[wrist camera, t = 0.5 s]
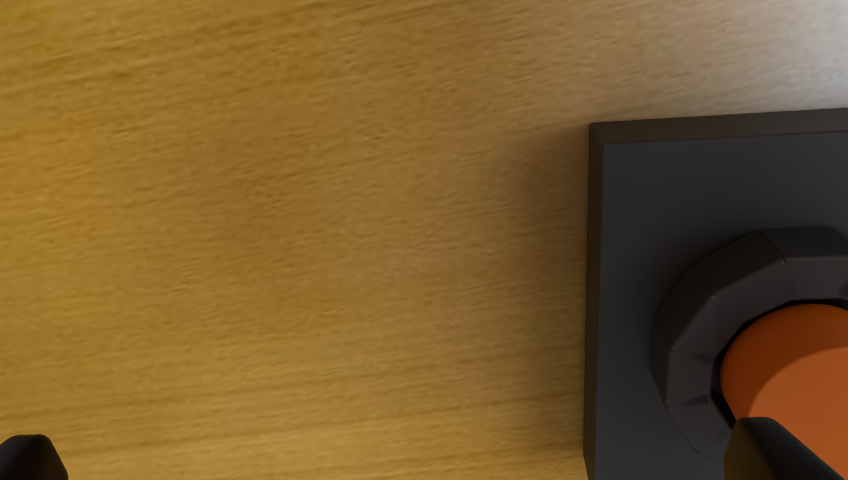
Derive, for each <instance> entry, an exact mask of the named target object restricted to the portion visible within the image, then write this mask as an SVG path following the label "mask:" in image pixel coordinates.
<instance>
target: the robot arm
mask: <svg viewBox="0 0 848 480" xmlns="http://www.w3.org/2000/svg"><path fill="white" fill-rule="evenodd" d="M723 470H724V476H725V480H845V479H844V478H843V477H842V476H841V475H839V474H838V473H837V472H836V471H835V470H834V469H832V468H831V467H830V466H829V465H828V464H827V463H825V462H824V461H823V460H822V459H821V458H820V457H818V456H817V455H816V454H815V453H814V452H812V451H811V450H810V449H809V448H808V447H807V446H805V445H804V444H803V443H802V442H801V441H800V440H798V439H797V438H796V437H795V436H794V435H793V434H791V433H790V432H789V431H788V430H787V429H786V428H784V427H783V426H782V425H781V424H780V423H778V422H777V421H776V420H774V419H772V418H769V417H743V418H740V419H738V420H737V421H736V423H735V425H734V427H733V430H732V433H731V436H730V440H729V443H728V446H727V449H726V452H725V455H724V459H723ZM0 480H68V474H67V471H66V469H65V467H64V465H63V463H62V461H61V459H60V457H59V455H58V453H57V452H56V450H55V448H54V446H53V444H52V442H51V440H50V439H49V438H48V437H46V436H45V435H41V434H36V435H16V436H13V437H11V438H9V439H7V440H6V441H4V442H3V443H2V444H1V445H0Z"/></svg>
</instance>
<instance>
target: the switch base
mask: <svg viewBox="0 0 848 480" xmlns="http://www.w3.org/2000/svg"><path fill="white" fill-rule="evenodd" d="M801 304H824V305H831V306H835V307H839V308H842V309H845V310H847V311H848V108H841V109H824V110H806V111H789V112H772V113H755V114H738V115H721V116H703V117H686V118H669V119H652V120H635V121H617V122H600V123H592V124H590V126H589V179H588V231H587V284H586V337H585V389H584V442H583V455H584V460H585V465H586V470H587V475H588V480H725V476H724V470H723V459H724V455H725V452H726V449H727V446H728V443H729V440H730V436H731V433H732V430H733V427H734V425H735V423H736V419H735V417H734V415H733V413H732V411H731V409H730V407H729V405H728V404H727V402H726V400H725V398H724V396H723V393H722V389H721V383H720V371H721V366H722V362H723V359H724V357H725V354H726V352H727V350H728V348H729V347H730V345H731V344H732V342H733V341H734V340H735V338H736V337H737V336H738V335H739V334H740V333H741V332H742V331H743V330H744V329H745V328H747V327H748V326H749V325H750V324H752V323H753V322H755V321H756V320H757V319H759V318H761V317H763V316H765V315H767V314H769V313H771V312H774V311H776V310H779V309H782V308H785V307H789V306H794V305H801Z"/></svg>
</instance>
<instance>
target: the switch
mask: <svg viewBox="0 0 848 480" xmlns="http://www.w3.org/2000/svg"><path fill="white" fill-rule="evenodd" d="M720 383H721V389H722V393H723V396H724V398H725V400H726V402H727V404H728V405H729V407H730V409H731V411H732V413H733V415H734V417H735V419H736V421H737V420H738V419H740V418H743V417H769V418H772V419H774V420H776V421H777V422H778V423H780V424H781V425H782V426H783V427H784V428H786V429H787V430H788V431H789V432H790V433H791V434H793V435H794V436H795V437H796V438H797V439H798V440H800V441H801V442H802V443H803V444H804V445H805V446H807V447H808V448H809V449H810V450H811V451H812V452H814V453H815V454H816V455H817V456H818V457H820V458H821V459H822V460H823V461H824V462H825V463H827V464H828V465H829V466H830V467H831V468H832V469H834V470H835V471H836V472H837V473H838V474H839V475H841V476H842V477H843V478H844V479H845V480H848V311H847V310H845V309H842V308H839V307H835V306H831V305H824V304H801V305H794V306H789V307H785V308H782V309H779V310H776V311H774V312H771V313H769V314H767V315H765V316H763V317H761V318H759V319H757V320H756V321H755V322H753V323H752V324H750V325H749V326H748V327H747V328H745V329H744V330H743V331H742V332H741V333H740V334H739V335H738V336H737V337H736V338H735V340H734V341H733V342H732V344H731V345H730V347H729V348H728V350H727V352H726V354H725V357H724V359H723V362H722V366H721V371H720Z"/></svg>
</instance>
